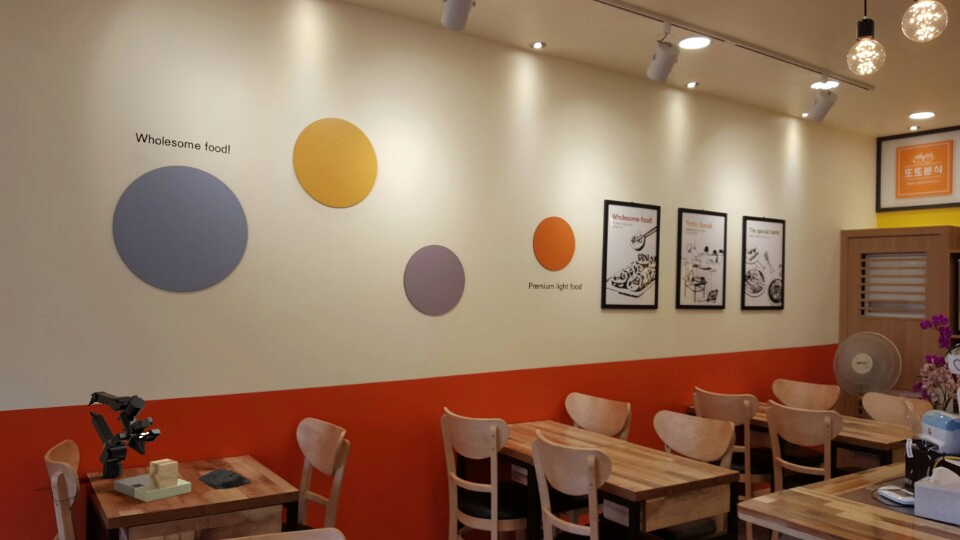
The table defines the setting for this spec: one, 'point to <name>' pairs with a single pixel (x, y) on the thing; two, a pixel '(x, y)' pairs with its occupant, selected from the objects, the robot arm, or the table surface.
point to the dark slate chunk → (223, 479)
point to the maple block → (163, 473)
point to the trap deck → (149, 488)
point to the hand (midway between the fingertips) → (143, 454)
